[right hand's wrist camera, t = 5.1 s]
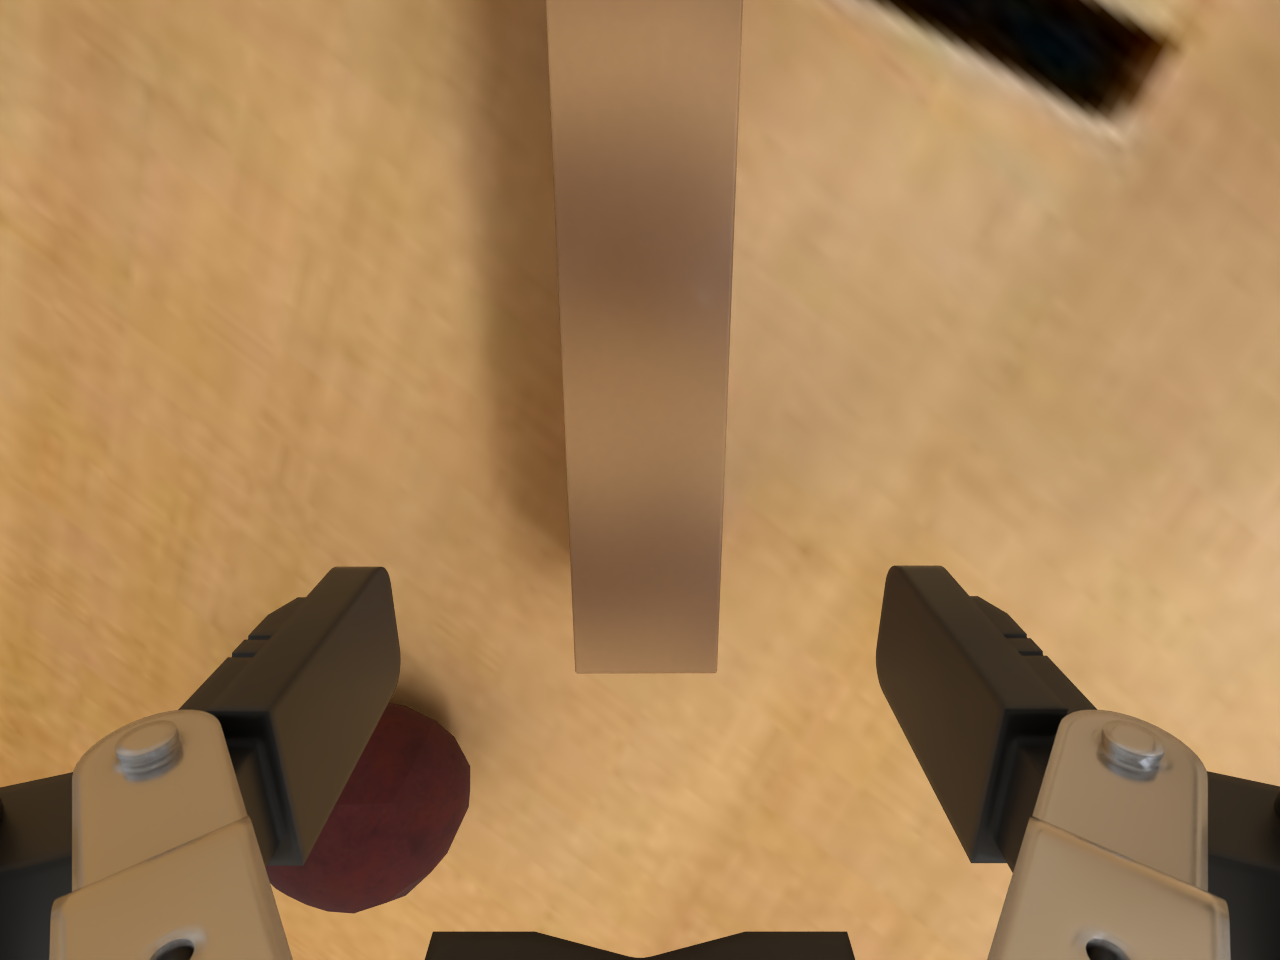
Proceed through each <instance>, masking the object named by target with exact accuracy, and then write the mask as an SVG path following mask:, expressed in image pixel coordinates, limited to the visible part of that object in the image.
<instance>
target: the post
mask: <svg viewBox="0 0 1280 960" xmlns="http://www.w3.org/2000/svg"><path fill="white" fill-rule="evenodd" d="M742 9H743V0H546V20H547V43H548V66H549V88H550V111H551V133H552V156H553V178H554V201H555V223H556V246H557V268H558V291H559V313H560V336H561V359H562V381H563V404H564V426H565V449H566V471H567V494H568V516H569V539H570V561H571V584H572V607H573V629H574V652H575V672H576V673H716V672H717V656H718V630H719V604H720V579H721V553H722V527H723V501H724V475H725V449H726V423H727V397H728V371H729V345H730V319H731V294H732V268H733V242H734V216H735V190H736V164H737V138H738V112H739V86H740V60H741V35H742Z"/></svg>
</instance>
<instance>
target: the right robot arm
mask: <svg viewBox="0 0 1280 960" xmlns="http://www.w3.org/2000/svg"><path fill="white" fill-rule="evenodd" d="M876 667H877V674H878V679H879V683H880V686H881V689H882V691H883V693H884V695H885V697H886V699H887V701H888V703H889V705H890V707H891V709H892V711H893V713H894V714H895V716H896V718H897V720H898V722H899V724H900V726H901V728H902V730H903V732H904V734H905V736H906V738H907V740H908V742H909V744H910V745H911V747H912V749H913V751H914V753H915V755H916V757H917V759H918V761H919V763H920V765H921V767H922V769H923V771H924V773H925V775H926V776H927V778H928V780H929V782H930V784H931V786H932V788H933V790H934V792H935V794H936V796H937V798H938V800H939V802H940V804H941V806H942V807H943V809H944V811H945V813H946V815H947V817H948V819H949V821H950V823H951V825H952V827H953V829H954V831H955V833H956V835H957V837H958V838H959V840H960V842H961V844H962V846H963V848H964V850H965V852H966V854H967V856H968V858H969V860H970V862H971V863H1007V864H1008V865H1009V867H1010V869H1011V871H1012V872H1013V875H1012V878H1011V882H1010V885H1009V889H1008V892H1007V895H1006V899H1005V902H1004V905H1003V909H1002V912H1001V915H1000V919H999V922H998V925H997V929H996V932H995V935H994V939H993V942H992V945H991V949H990V952H989V956H988V959H987V960H1280V787H1279V786H1275V785H1270V784H1265V783H1260V782H1255V781H1251V780H1246V779H1241V778H1236V777H1232V776H1227V775H1222V774H1217V773H1213V772H1208V771H1206V769H1205V767H1204V765H1203V763H1202V762H1201V760H1200V759H1199V757H1198V756H1197V755H1196V754H1195V753H1194V752H1193V751H1192V750H1191V749H1190V748H1189V747H1188V746H1186V745H1185V744H1184V743H1183V742H1182V741H1180V740H1179V739H1177V738H1176V737H1174V736H1173V735H1171V734H1170V733H1168V732H1166V731H1164V730H1162V729H1161V728H1159V727H1157V726H1155V725H1152V724H1150V723H1148V722H1146V721H1143V720H1140V719H1138V718H1135V717H1132V716H1128V715H1125V714H1121V713H1117V712H1112V711H1105V710H1097V709H1096V708H1095V707H1094V706H1093V705H1092V703H1091V702H1090V701H1089V700H1088V699H1087V698H1086V697H1085V696H1084V695H1083V694H1082V693H1081V692H1080V691H1079V690H1078V689H1077V687H1076V686H1075V685H1074V684H1073V683H1072V682H1071V681H1070V680H1069V679H1068V678H1067V677H1066V676H1065V675H1064V674H1063V672H1062V671H1061V670H1060V669H1059V668H1058V667H1057V666H1056V665H1055V664H1054V663H1053V662H1052V661H1051V660H1050V659H1049V658H1048V656H1043V651H1042V650H1041V649H1040V648H1039V647H1038V646H1037V645H1036V644H1035V643H1034V642H1033V640H1032V639H1031V638H1027V634H1026V633H1025V632H1024V631H1023V630H1022V629H1021V628H1020V627H1019V626H1018V624H1017V623H1016V622H1015V621H1014V620H1013V619H1012V618H1011V617H1010V616H1009V615H1008V614H1007V613H1005V612H1004V611H1002V610H1000V609H999V608H997V607H995V606H993V605H992V604H990V603H988V602H987V601H985V600H983V599H982V598H980V597H978V596H969V595H968V594H967V593H966V592H965V591H964V589H963V588H962V587H961V586H960V585H959V584H958V583H957V581H956V580H955V579H954V578H953V577H952V576H951V575H950V574H949V572H948V571H947V570H946V569H945V568H944V567H942V566H892V567H891V568H890V570H889V571H888V574H887V577H886V583H885V590H884V597H883V604H882V612H881V619H880V626H879V634H878V641H877V649H876ZM399 672H400V647H399V639H398V632H397V625H396V618H395V611H394V604H393V596H392V589H391V582H390V578H389V575H388V572H387V570H386V569H385V568H384V567H334V568H332V569H331V570H330V571H329V572H328V573H327V574H326V576H325V577H324V578H323V579H322V580H321V581H320V582H319V583H318V585H317V586H316V587H315V588H314V589H313V590H312V591H311V592H310V594H309V595H308V596H307V597H298V598H296V599H294V600H293V601H291V602H289V603H288V604H286V605H284V606H283V607H281V608H279V609H277V610H276V611H274V612H272V613H271V614H269V615H268V616H267V617H266V618H265V619H264V620H263V621H262V622H261V623H260V624H259V625H258V626H257V627H256V628H255V629H254V630H253V631H252V632H251V634H250V635H249V638H248V640H244V641H243V642H242V643H241V644H240V645H239V646H238V647H237V648H236V649H235V650H234V652H233V653H232V657H228V658H227V659H226V660H225V661H224V662H223V663H222V664H221V665H220V666H219V667H218V668H217V670H216V671H215V672H214V673H213V674H212V675H211V676H210V677H209V678H208V679H207V680H206V681H205V682H204V683H203V684H202V685H201V686H200V687H199V689H198V690H197V691H196V692H195V693H194V694H193V695H192V696H191V697H190V698H189V699H188V700H187V701H186V702H185V703H184V704H183V705H182V707H181V708H180V709H179V710H175V711H168V712H163V713H159V714H155V715H152V716H148V717H145V718H142V719H140V720H137V721H134V722H132V723H130V724H128V725H125V726H123V727H121V728H119V729H118V730H116V731H114V732H112V733H110V734H109V735H107V736H106V737H104V738H103V739H101V740H100V741H98V742H97V743H96V744H95V745H94V746H92V747H91V748H90V749H89V750H88V751H87V752H86V753H85V754H84V755H83V756H82V757H81V759H80V760H79V762H78V763H77V765H76V767H75V769H74V771H73V772H71V773H67V774H63V775H58V776H53V777H49V778H44V779H39V780H34V781H30V782H25V783H20V784H15V785H11V786H6V787H1V788H0V960H293V959H292V956H291V952H290V949H289V945H288V942H287V939H286V935H285V932H284V929H283V925H282V922H281V919H280V915H279V912H278V909H277V905H276V902H275V899H274V895H273V892H272V889H271V885H270V882H269V878H268V875H267V872H266V866H303V865H304V863H305V862H306V860H307V858H308V856H309V854H310V852H311V850H312V848H313V846H314V844H315V842H316V841H317V839H318V837H319V835H320V833H321V831H322V829H323V827H324V825H325V823H326V821H327V819H328V818H329V816H330V814H331V812H332V810H333V808H334V806H335V804H336V802H337V800H338V798H339V797H340V795H341V793H342V791H343V789H344V787H345V785H346V783H347V781H348V779H349V777H350V775H351V774H352V772H353V770H354V768H355V766H356V764H357V762H358V760H359V758H360V756H361V754H362V752H363V751H364V749H365V747H366V745H367V743H368V741H369V739H370V737H371V735H372V733H373V731H374V730H375V728H376V726H377V724H378V722H379V720H380V718H381V716H382V714H383V712H384V710H385V708H386V707H387V705H388V703H389V701H390V699H391V697H392V695H393V693H394V691H395V689H396V686H397V682H398V678H399ZM425 960H855V957H854V954H853V951H852V947H851V944H850V940H849V937H848V933H847V932H742V933H739V934H735V935H731V936H727V937H723V938H720V939H716V940H712V941H708V942H705V943H701V944H697V945H693V946H690V947H686V948H682V949H678V950H674V951H671V952H667V953H663V954H659V955H656V956H652V957H646V958H634V957H628V956H624V955H621V954H617V953H613V952H609V951H606V950H602V949H598V948H594V947H590V946H587V945H583V944H579V943H575V942H572V941H568V940H564V939H560V938H557V937H553V936H549V935H545V934H541V933H538V932H433V933H432V937H431V940H430V944H429V947H428V951H427V954H426V957H425Z"/></svg>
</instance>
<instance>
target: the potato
mask: <svg viewBox="0 0 1280 960" xmlns="http://www.w3.org/2000/svg"><path fill="white" fill-rule="evenodd" d="M469 796H470V765H469V763H468V762H467V760H466V758H465V756H464V754H463V752H462V750H461V748H460V746H459V745H458V743H457V741H456V739H455V737H454V736H453V735H451V734H450V733H449V732H448V731H447V730H446V729H444V728H443V727H442V726H441V725H440V724H439V723H437V722H436V721H435V720H432V719H430V718H428V717H426V716H424V715H422V714H420V713H418V712H416V711H414V710H412V709H410V708H408V707H406V706H401V705H395V704H389V703H388V705H387V707H386V708H385V710H384V712H383V714H382V716H381V718H380V720H379V722H378V724H377V726H376V728H375V730H374V731H373V733H372V735H371V737H370V739H369V741H368V743H367V745H366V747H365V749H364V751H363V752H362V754H361V756H360V758H359V760H358V762H357V764H356V766H355V768H354V770H353V772H352V774H351V775H350V777H349V779H348V781H347V783H346V785H345V787H344V789H343V791H342V793H341V795H340V797H339V798H338V800H337V802H336V804H335V806H334V808H333V810H332V812H331V814H330V816H329V818H328V819H327V821H326V823H325V825H324V827H323V829H322V831H321V833H320V835H319V837H318V839H317V841H316V842H315V844H314V846H313V848H312V850H311V852H310V854H309V856H308V858H307V860H306V862H305V863H304V865H303V866H266V872H267V875H268V878H269V882H270V883H271V884H272V885H273V886H274V887H275V888H276V889H277V890H279V891H281V892H282V893H284V894H286V895H287V896H289V897H292V898H294V899H296V900H298V901H300V902H302V903H304V904H306V905H309V906H312V907H315V908H319V909H322V910H325V911H330V912H343V913H356V912H359V911H362V910H365V909H368V908H372V907H375V906H378V905H381V904H384V903H387V902H389V901H392V900H395V899H398V898H400V897H403V896H406V895H407V894H408V893H409V892H410V891H411V890H412V889H413V888H414V887H415V886H416V885H418V884H419V883H420V882H421V881H422V880H423V879H424V878H425V877H426V876H427V875H428V874H429V873H431V871H432V870H433V869H434V868H435V867H436V866H437V864H438V863H439V862H440V861H441V860H442V859H443V857H444V856H445V855H446V854H447V852H448V850H449V848H450V846H451V844H452V842H453V839H454V837H455V835H456V833H457V831H458V829H459V826H460V824H461V822H462V820H463V818H464V816H465V813H466V811H467V809H468V807H469Z"/></svg>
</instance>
